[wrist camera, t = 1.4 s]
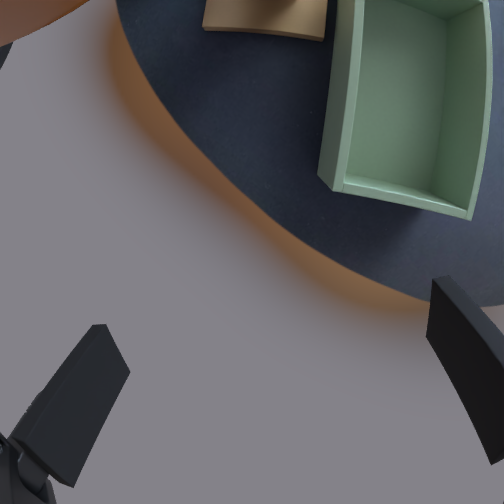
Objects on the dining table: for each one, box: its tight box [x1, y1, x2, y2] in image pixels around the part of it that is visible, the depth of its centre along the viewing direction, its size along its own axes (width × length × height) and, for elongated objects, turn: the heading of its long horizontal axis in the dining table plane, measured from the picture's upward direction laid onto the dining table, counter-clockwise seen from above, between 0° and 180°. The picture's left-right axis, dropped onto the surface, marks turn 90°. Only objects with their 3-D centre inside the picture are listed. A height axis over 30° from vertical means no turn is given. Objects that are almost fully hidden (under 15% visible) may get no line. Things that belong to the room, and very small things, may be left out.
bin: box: [317, 0, 492, 221], centre depth 22 cm, size 14×23×9 cm, turn 173°
